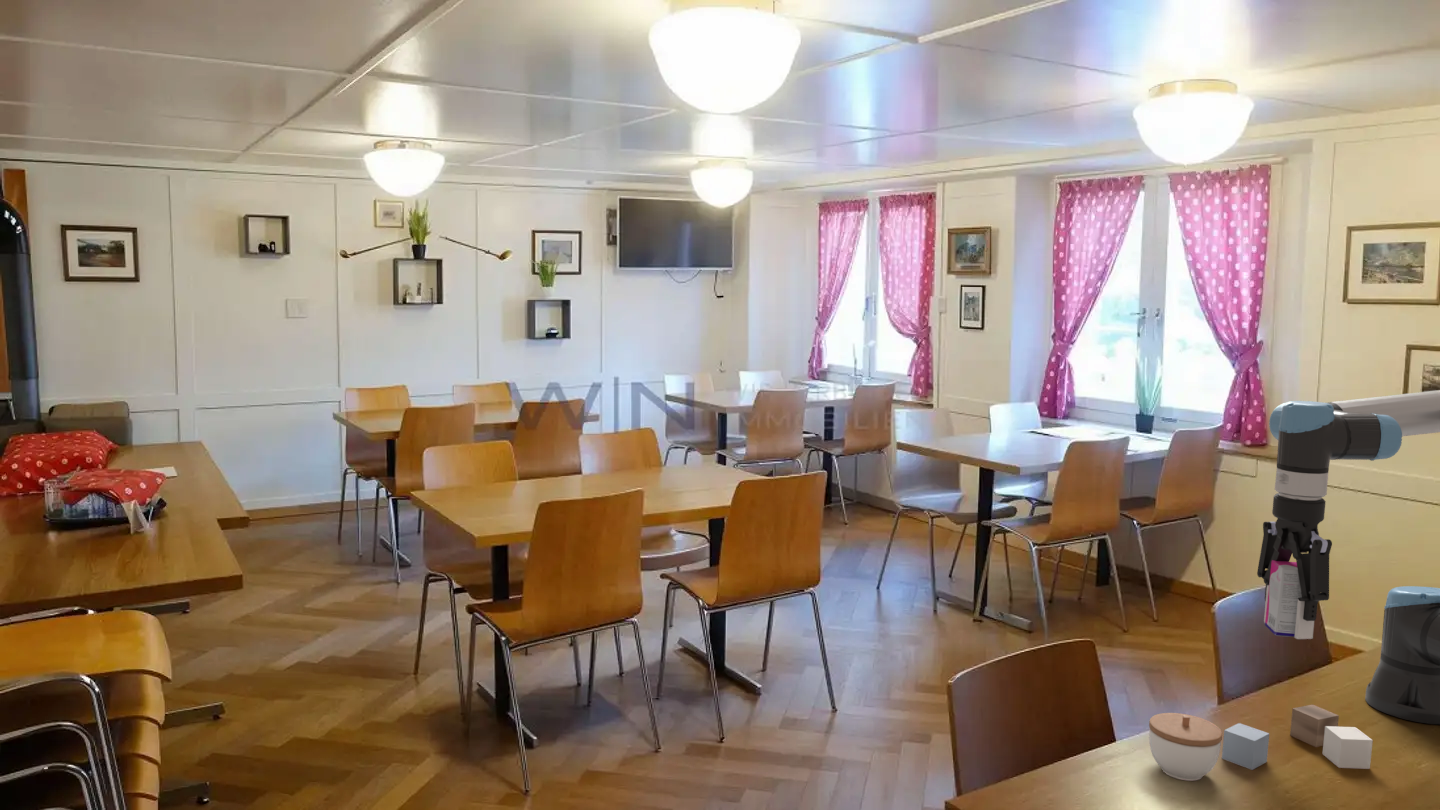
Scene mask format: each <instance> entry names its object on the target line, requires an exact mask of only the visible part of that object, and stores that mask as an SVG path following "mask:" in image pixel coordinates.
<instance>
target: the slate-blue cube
mask: <svg viewBox="0 0 1440 810" xmlns="http://www.w3.org/2000/svg"><path fill="white" fill-rule="evenodd" d="M1222 739H1223V741H1222V754H1221V759H1222V760H1225V761H1227V762H1231V763H1233V764H1235V765H1238V766H1241V767H1243V768H1247V769H1248V770H1251V771H1253V770H1255V769H1256V768H1258V767H1260V766H1262V765H1264V764H1266V763H1267V762H1268V754H1269V753H1268V752H1269V751H1268V750H1269V742H1270V741H1269V740H1270V732H1266V731H1263V730H1262V729H1261V730H1260V729H1257V728H1254V727H1253V726H1249V725H1246V724H1243V723H1241V722H1237V723H1236V724H1233V725H1232V726H1230V727H1228V728H1226V729H1224V730H1223V738H1222Z"/></svg>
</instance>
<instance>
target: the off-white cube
mask: <svg viewBox="0 0 1440 810" xmlns="http://www.w3.org/2000/svg"><path fill="white" fill-rule="evenodd" d="M1373 741H1374V740H1373V739H1372V738H1370V737H1369V736H1368V735H1367V734H1365V733H1364V732H1363V731H1361V730H1360V729H1358V728H1357V727H1355V726H1338V727H1337V726H1325V733H1324V743H1323V746H1322V755H1323V756H1325V758H1327V760H1328V761H1330V762H1331V763H1333V764H1334V766H1336V767H1338V769H1341V768H1342V769H1362V770H1364V769H1365V770H1369V769H1371V761H1372V760H1371V759H1372V749H1373Z"/></svg>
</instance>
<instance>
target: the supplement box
mask: <svg viewBox="0 0 1440 810" xmlns="http://www.w3.org/2000/svg"><path fill="white" fill-rule="evenodd" d="M1309 593H1310V592H1309ZM1301 597H1302V594H1301V587H1300V581H1299V574H1298V568H1297V562H1296V561H1289V562H1287V561H1274V560H1272V563H1271V572H1270V581H1269V591H1268V601H1267V610H1266V619H1265V623H1264V626H1265V627H1266V628H1268V630H1269V631H1270V632H1271V633H1272V634H1273V635H1275V637H1276V636H1277V637H1287V638H1288V637H1290V638H1294V637H1295V626H1296V615H1297V604H1298V598H1301Z"/></svg>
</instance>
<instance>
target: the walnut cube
mask: <svg viewBox="0 0 1440 810" xmlns="http://www.w3.org/2000/svg"><path fill="white" fill-rule="evenodd" d="M1291 710H1292V712H1291V720H1290V721H1291V722H1290V724H1291V725H1290V732H1289V733H1290V734H1289V735H1290V736H1291V737H1293V738H1295V739H1297V740H1300V741H1302V742H1304V743H1306V744H1308V745H1310V746H1312V747H1314V748H1319V747H1323V743H1324V733H1325V726H1337V727H1339V719H1340V718H1339V717H1340V715H1339V714H1337V713H1334V712H1331V711H1330V710H1327V709H1325V708H1322V707H1319V706H1318V705H1314V704H1308V705H1303V706H1299V707H1293V708H1292V709H1291Z"/></svg>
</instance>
